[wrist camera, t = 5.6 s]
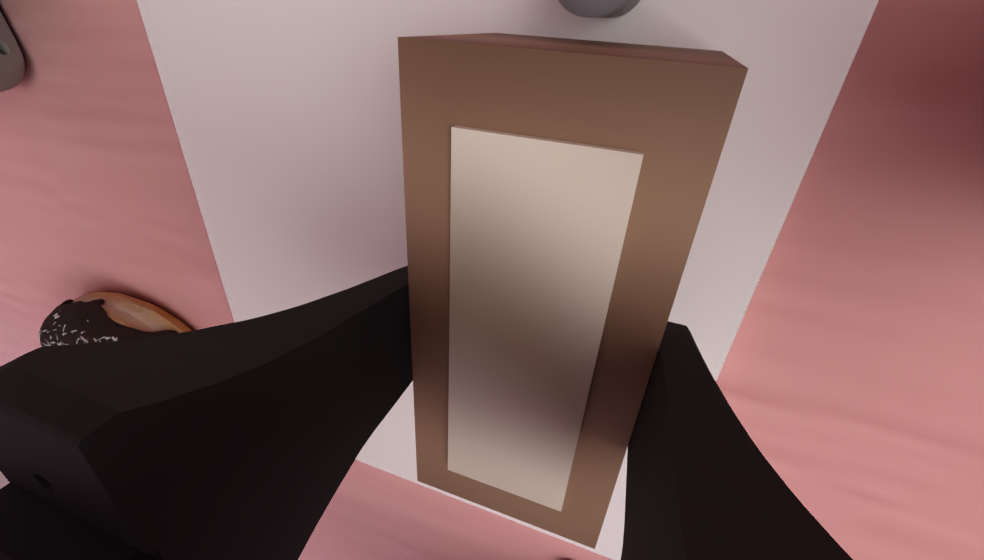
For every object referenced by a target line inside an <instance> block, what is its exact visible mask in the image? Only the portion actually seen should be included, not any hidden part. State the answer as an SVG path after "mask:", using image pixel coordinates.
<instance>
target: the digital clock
mask: <svg viewBox="0 0 984 560" xmlns="http://www.w3.org/2000/svg"><path fill="white" fill-rule="evenodd" d="M24 73H25V65H24V58H23V55H22V52H21V50H20V48H19V46H18V44H17V41H16V40H15V38H14V36H13V34H12V32H11V30H10V28H9V26H8V24H7V23H6V21H5V19H4V17H3V15H2V13H1V11H0V92H2V91H6V90H9V89H11V88H13V87H15V86H17V85H18V84H19V83H20V82H21V81H22V79H23V76H24Z"/></svg>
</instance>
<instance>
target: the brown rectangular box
mask: <svg viewBox="0 0 984 560" xmlns="http://www.w3.org/2000/svg"><path fill="white" fill-rule="evenodd" d="M398 58H399V81H400V103H401V126H402V148H403V170H404V193H405V215H406V238H407V260H408V283H409V305H410V328H411V350H412V372H413V395H414V417H415V440H416V462H417V481H419V482H422V483H424V484H427V485H430V486H432V487H435V488H437V489H440V490H443V491H445V492H448V493H450V494H453V495H456V496H458V497H461V498H463V499H466V500H469V501H471V502H474V503H476V504H479V505H482V506H484V507H487V508H489V509H492V510H495V511H497V512H500V513H502V514H505V515H508V516H510V517H513V518H515V519H518V520H521V521H523V522H526V523H528V524H531V525H534V526H536V527H539V528H541V529H544V530H546V531H549V532H552V533H554V534H557V535H559V536H562V537H565V538H567V539H570V540H572V541H575V542H578V543H580V544H583V545H585V546H588V547H591V548H593V549H595V547H596V544H597V541H598V538H599V534H600V531H601V528H602V525H603V522H604V519H605V516H606V513H607V509H608V506H609V503H610V500H611V497H612V494H613V491H614V487H615V484H616V481H617V478H618V475H619V472H620V469H621V466H622V462H623V459H624V456H625V453H626V450H627V447H628V444H629V441H630V437H631V434H632V431H633V428H634V425H635V422H636V419H637V415H638V412H639V409H640V406H641V403H642V400H643V397H644V394H645V390H646V387H647V384H648V381H649V378H650V375H651V372H652V369H653V365H654V362H655V359H656V356H657V353H658V350H659V347H660V343H661V340H662V337H663V334H664V331H665V328H666V325H667V322H668V318H669V315H670V312H671V309H672V306H673V303H674V300H675V297H676V293H677V290H678V287H679V284H680V281H681V278H682V275H683V271H684V268H685V265H686V262H687V259H688V256H689V253H690V250H691V246H692V243H693V240H694V237H695V234H696V231H697V228H698V225H699V221H700V218H701V215H702V212H703V209H704V206H705V203H706V199H707V196H708V193H709V190H710V187H711V184H712V181H713V178H714V174H715V171H716V168H717V165H718V162H719V159H720V156H721V153H722V149H723V146H724V143H725V140H726V137H727V134H728V131H729V127H730V124H731V121H732V118H733V115H734V112H735V109H736V106H737V102H738V99H739V96H740V93H741V90H742V87H743V84H744V81H745V77H746V74H747V71H748V68H747V67H746V66H744V65H743V64H741V63H740V62H738V61H737V60H735V59H733V58H732V57H730V56H729V55H727V54H726V53H724V52H723V51H716V50H704V49H691V48H679V47H666V46H654V45H642V44H629V43H617V42H604V41H592V40H579V39H567V38H554V37H542V36H530V35H517V34H505V33H479V34H456V35H434V36H411V37H398Z"/></svg>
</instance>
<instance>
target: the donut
mask: <svg viewBox="0 0 984 560" xmlns="http://www.w3.org/2000/svg"><path fill="white" fill-rule="evenodd" d="M188 331H193V330H192V329H190V328H189V327H188V326H187V325H186V324H184V323H183V322H182V321H181V320H179V319H177V318H176V317H174V316H173V315H171V314H169V313H168V312H166V311H165V310H163V309H161V308H160V307H158V306H155V305H153V304H150V303H148V302H145V301H142V300H139V299H136V298H133V297H130V296H128V295H125V294H122V293H112V292H94V293H89V294H85V295H83V296H81V297H79V298H77V299H75V300H71V299H70V300H66V301H65V302H63V303H62V304H60V305H59V306H58V307H56V308H55V309H54V310H53V311H52V312H51V313H50V314H49V316H48V317H47V318H46V319H45V320H44V322H43V324H42V326H41V328H40V331H39V335H38V336H39V339H40V342H41V343H40V344H41V345H42V346H41V347H44V346H55V345H69V344H82V343H95V342H107V341H119V340H129V339H138V338H145V337H153V336H161V335H168V334H175V333H181V332H188Z"/></svg>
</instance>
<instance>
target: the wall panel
mask: <svg viewBox="0 0 984 560" xmlns="http://www.w3.org/2000/svg"><path fill="white" fill-rule="evenodd" d="M878 1H879V0H137V3H138V6H139V10H140V13H141V16H142V19H143V23H144V26H145V29H146V33H147V36H148V39H149V43H150V46H151V49H152V52H153V56H154V59H155V62H156V66H157V69H158V72H159V75H160V79H161V82H162V85H163V89H164V92H165V95H166V99H167V102H168V105H169V108H170V112H171V115H172V118H173V122H174V125H175V128H176V131H177V135H178V138H179V141H180V145H181V148H182V151H183V155H184V158H185V161H186V164H187V168H188V171H189V174H190V178H191V181H192V184H193V188H194V191H195V194H196V197H197V201H198V204H199V207H200V211H201V214H202V217H203V220H204V224H205V227H206V230H207V234H208V237H209V240H210V244H211V247H212V250H213V253H214V257H215V260H216V263H217V267H218V270H219V273H220V276H221V280H222V283H223V286H224V290H225V293H226V296H227V300H228V303H229V306H230V309H231V313H232V316H233V319H234V322H239V321H244V320H249V319H253V318H257V317H261V316H265V315H268V314H272V313H276V312H280V311H283V310H287V309H290V308H293V307H297V306H300V305H303V304H306V303H309V302H312V301H315V300H317V299H320V298H323V297H326V296H329V295H332V294H334V293H337V292H340V291H343V290H346V289H348V288H351V287H353V286H356V285H359V284H361V283H364V282H366V281H369V280H371V279H374V278H376V277H379V276H381V275H384V274H386V273H389V272H392V271H394V270H397V269H399V268H402V267H405V266H408V260H407V238H406V215H405V193H404V170H403V148H402V126H401V103H400V81H399V58H398V37H411V36H434V35H456V34H479V33H505V34H517V35H530V36H542V37H554V38H567V39H579V40H592V41H604V42H617V43H629V44H642V45H654V46H666V47H679V48H691V49H704V50H716V51H723V52H724V53H726V54H727V55H729V56H730V57H732V58H733V59H735V60H737V61H738V62H740V63H741V64H743V65H744V66H746V67H747V68H748V71H747V74H746V77H745V81H744V84H743V87H742V90H741V93H740V96H739V99H738V102H737V106H736V109H735V112H734V115H733V118H732V121H731V124H730V127H729V131H728V134H727V137H726V140H725V143H724V146H723V149H722V153H721V156H720V159H719V162H718V165H717V168H716V171H715V174H714V178H713V181H712V184H711V187H710V190H709V193H708V196H707V199H706V203H705V206H704V209H703V212H702V215H701V218H700V221H699V225H698V228H697V231H696V234H695V237H694V240H693V243H692V246H691V250H690V253H689V256H688V259H687V262H686V265H685V268H684V271H683V275H682V278H681V281H680V284H679V287H678V290H677V293H676V297H675V300H674V303H673V306H672V309H671V312H670V315H669V318H668V321H669V322H673V323H677V324H682V325H686V326H687V327H688V329H689V330H690V332H691V334H692V336H693V338H694V340H695V342H696V345H697V347H698V349H699V351H700V353H701V355H702V357H703V359H704V361H705V363H706V365H707V367H708V369H709V370H710V372H711V374H712V376H713V378H714V380H715V381H716V380H717V378H718V375H719V373H720V371H721V368H722V366H723V364H724V361H725V359H726V357H727V354H728V352H729V350H730V347H731V345H732V343H733V340H734V338H735V336H736V333H737V331H738V329H739V326H740V324H741V322H742V319H743V317H744V315H745V312H746V310H747V308H748V305H749V303H750V301H751V298H752V296H753V294H754V291H755V289H756V287H757V284H758V282H759V280H760V277H761V275H762V273H763V270H764V268H765V266H766V263H767V261H768V259H769V256H770V254H771V252H772V249H773V247H774V245H775V242H776V240H777V238H778V235H779V233H780V230H781V228H782V226H783V223H784V221H785V219H786V216H787V214H788V212H789V209H790V207H791V205H792V202H793V200H794V198H795V195H796V193H797V191H798V188H799V186H800V184H801V181H802V179H803V177H804V174H805V172H806V170H807V167H808V165H809V163H810V160H811V158H812V156H813V153H814V151H815V149H816V146H817V144H818V142H819V139H820V137H821V135H822V132H823V130H824V128H825V125H826V123H827V121H828V118H829V116H830V114H831V111H832V109H833V107H834V104H835V102H836V100H837V97H838V95H839V93H840V90H841V88H842V86H843V83H844V81H845V78H846V76H847V74H848V71H849V69H850V67H851V64H852V62H853V60H854V57H855V55H856V53H857V50H858V48H859V46H860V43H861V41H862V39H863V36H864V34H865V32H866V29H867V27H868V25H869V22H870V20H871V18H872V15H873V13H874V11H875V8H876V6H877V4H878ZM627 453H628V447H627V450H626V453H625V456H624V459H623V462H622V466H621V469H620V472H619V475H618V478H617V481H616V484H615V487H614V491H613V494H612V497H611V500H610V503H609V506H608V509H607V513H606V516H605V519H604V522H603V525H602V528H601V531H600V534H599V538H598V541H597V544H596V547H595V549H593V548H591V547H588V546H585V545H583V544H580V543H578V542H575V541H572V540H570V539H567V538H565V537H562V536H559V535H557V534H554V533H552V532H549V531H546V530H544V529H541V528H539V527H536V526H534V525H531V524H528V523H526V522H523V521H521V520H518V519H515V518H513V517H510V516H508V515H505V514H502V513H500V512H497V511H495V510H492V509H489V508H487V507H484V506H482V505H479V504H476V503H474V502H471V501H469V500H466V499H463V498H461V497H458V496H456V495H453V494H450V493H448V492H445V491H443V490H440V489H437V488H435V487H432V486H430V485H427V484H424V483H422V482H419V481H417V462H416V440H415V417H414V395H413V381H412V382H411V384H410V385H409V386H408V388H407V389H406V390H405V391H404V393H403V394H402V395H401V397H400V398H399V399H398V401H397V402H396V403H395V405H394V406H393V407H392V408H391V410H390V411H389V412H388V414H387V415H386V416H385V418H384V419H383V420H382V422H381V423H380V424H379V425H378V427H377V428H376V429H375V431H374V432H373V433H372V435H371V436H370V438H369V439H368V440H367V442H366V443H365V445H364V446H363V448H362V449H361V451H360V452H359V454H358V455H357V457H356V459H355V460H357V461H360V462H363V463H365V464H368V465H370V466H373V467H376V468H378V469H381V470H383V471H386V472H388V473H391V474H394V475H396V476H399V477H401V478H404V479H406V480H409V481H412V482H414V483H417V484H419V485H422V486H425V487H427V488H430V489H432V490H435V491H437V492H440V493H443V494H445V495H448V496H450V497H453V498H455V499H458V500H461V501H463V502H466V503H468V504H471V505H474V506H476V507H479V508H481V509H484V510H486V511H489V512H492V513H494V514H497V515H499V516H502V517H504V518H507V519H510V520H512V521H515V522H517V523H520V524H523V525H525V526H528V527H530V528H533V529H535V530H538V531H541V532H543V533H546V534H548V535H551V536H553V537H556V538H559V539H561V540H564V541H566V542H569V543H572V544H574V545H577V546H579V547H582V548H584V549H587V550H590V551H592V552H595V553H597V554H600V555H602V556H605V557H608V558H610V559H613V560H621V554H622V547H623V535H624V522H625V499H626V476H627Z"/></svg>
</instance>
